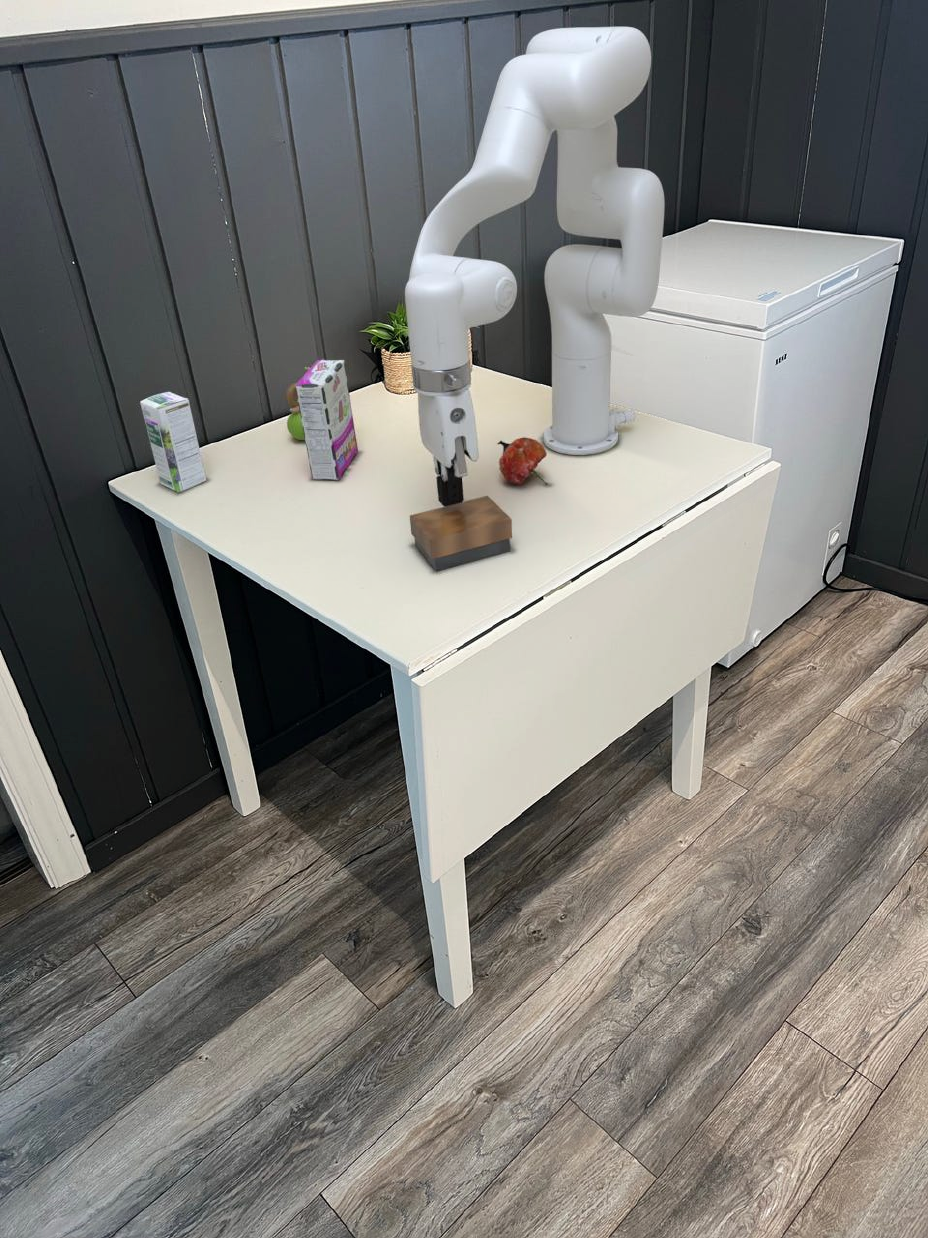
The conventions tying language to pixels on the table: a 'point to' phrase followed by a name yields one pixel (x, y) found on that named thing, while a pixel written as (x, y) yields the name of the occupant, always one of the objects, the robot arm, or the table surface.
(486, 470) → the table surface
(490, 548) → the brush
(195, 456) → the syrup box
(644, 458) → the table surface
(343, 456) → the candy bar box
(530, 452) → the pomegranate
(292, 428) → the snail figurine
